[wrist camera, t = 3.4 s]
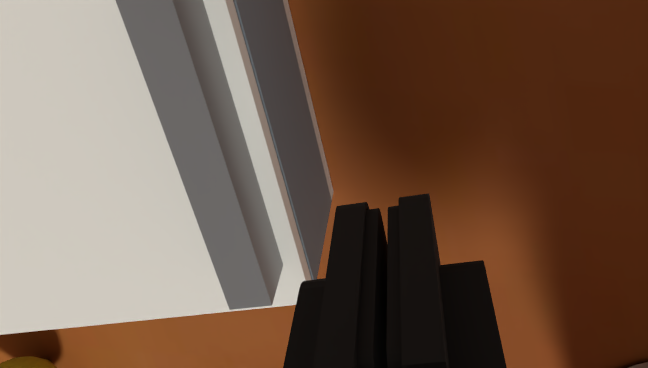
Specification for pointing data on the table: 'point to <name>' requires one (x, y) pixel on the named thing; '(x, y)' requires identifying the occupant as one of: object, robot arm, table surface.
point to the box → (289, 118)
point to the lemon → (27, 363)
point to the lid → (136, 167)
